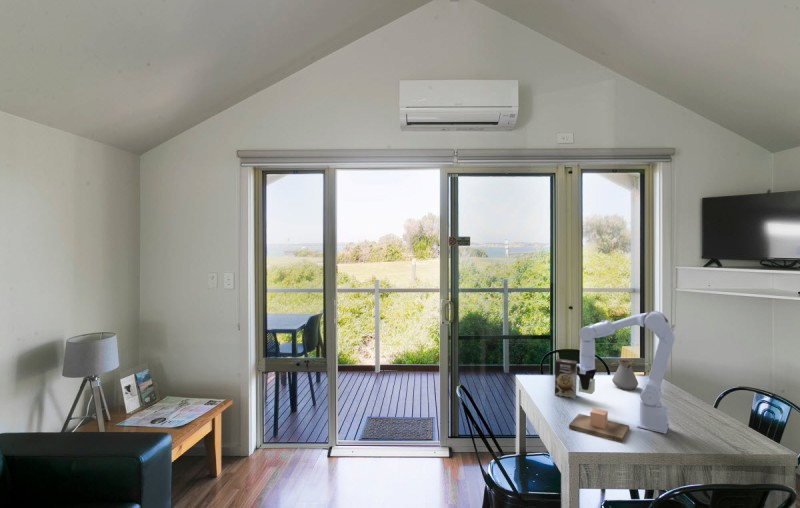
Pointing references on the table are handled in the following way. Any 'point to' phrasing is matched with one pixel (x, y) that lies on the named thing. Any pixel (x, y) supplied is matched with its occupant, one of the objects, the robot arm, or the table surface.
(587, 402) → the table surface
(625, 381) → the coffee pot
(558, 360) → the coffee box
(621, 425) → the walnut base
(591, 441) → the table surface
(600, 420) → the terracotta block
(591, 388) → the sage block
